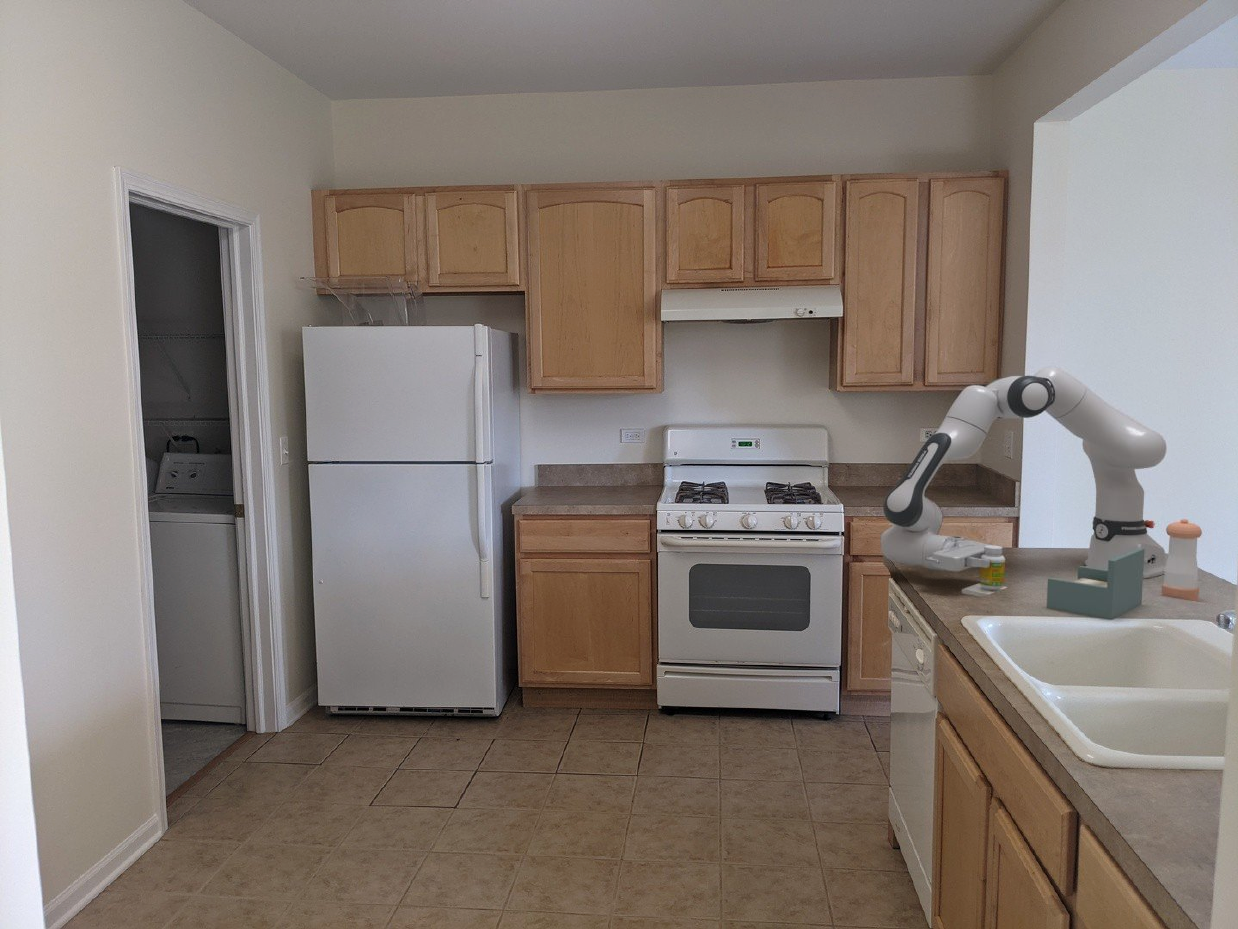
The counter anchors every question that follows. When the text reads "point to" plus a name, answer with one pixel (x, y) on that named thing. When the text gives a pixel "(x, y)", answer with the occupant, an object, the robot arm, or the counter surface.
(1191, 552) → the pepper shaker
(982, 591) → the plate
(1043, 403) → the robot arm
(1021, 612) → the counter surface
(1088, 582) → the birch offcut top
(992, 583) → the supplement bottle
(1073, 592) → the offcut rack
